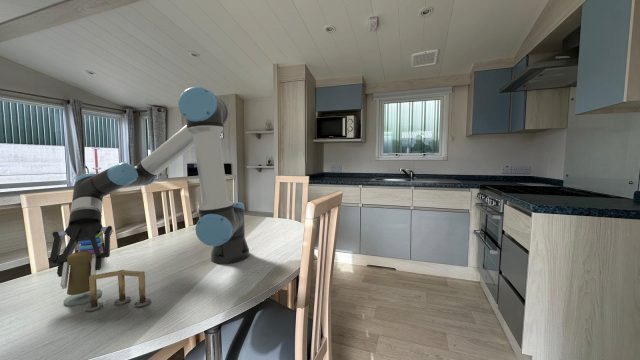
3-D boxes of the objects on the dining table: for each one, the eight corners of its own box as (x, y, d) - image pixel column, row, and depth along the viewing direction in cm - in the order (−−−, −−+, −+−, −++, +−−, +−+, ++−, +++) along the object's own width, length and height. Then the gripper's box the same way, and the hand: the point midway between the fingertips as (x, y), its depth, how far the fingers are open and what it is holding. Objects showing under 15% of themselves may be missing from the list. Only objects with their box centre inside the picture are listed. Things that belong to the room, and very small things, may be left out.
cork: (100, 287, 72) (98, 250, 72) (73, 297, 67) (70, 257, 66) (89, 282, 75) (87, 247, 74) (62, 292, 69) (60, 254, 69)
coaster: (104, 288, 76) (104, 286, 76) (98, 300, 70) (98, 298, 70) (69, 295, 72) (69, 293, 72) (58, 309, 66) (58, 307, 66)
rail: (152, 292, 74) (151, 263, 74) (150, 305, 68) (148, 273, 67) (87, 306, 67) (85, 274, 66) (78, 322, 60) (75, 286, 60)
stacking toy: (87, 261, 97) (85, 214, 96) (72, 260, 99) (69, 213, 97) (108, 254, 105) (106, 211, 103) (93, 253, 106) (91, 210, 105)
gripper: (122, 217, 87) (121, 280, 75) (48, 224, 77) (33, 298, 65) (121, 204, 83) (119, 269, 71) (42, 210, 72) (24, 287, 60)
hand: (78, 283), depth 68 cm, fingers closed on cork, 5 cm apart
